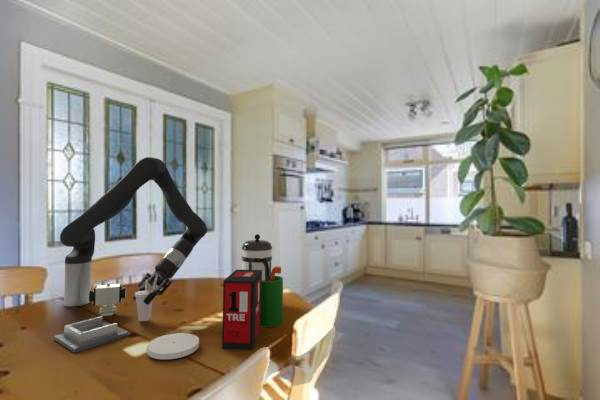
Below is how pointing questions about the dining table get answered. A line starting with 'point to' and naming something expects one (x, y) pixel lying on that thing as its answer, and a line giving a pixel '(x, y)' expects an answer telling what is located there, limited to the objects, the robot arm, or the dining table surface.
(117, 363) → the dining table surface
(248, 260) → the coffee press
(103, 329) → the mount plate
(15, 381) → the dining table surface
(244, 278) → the cleaning product box
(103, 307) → the pneumatic valve
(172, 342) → the plastic lid
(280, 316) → the green cylindrical container
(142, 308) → the smoothie
